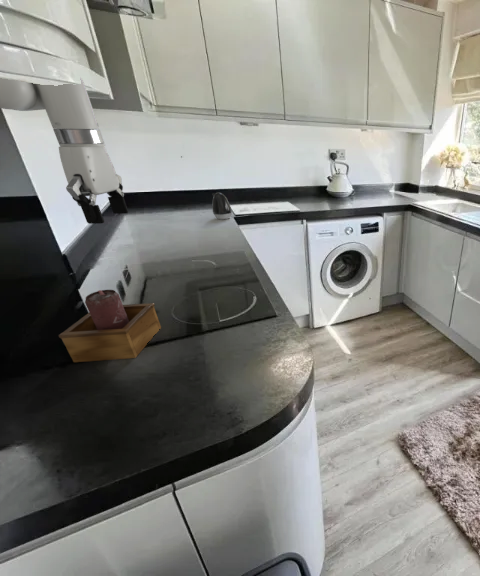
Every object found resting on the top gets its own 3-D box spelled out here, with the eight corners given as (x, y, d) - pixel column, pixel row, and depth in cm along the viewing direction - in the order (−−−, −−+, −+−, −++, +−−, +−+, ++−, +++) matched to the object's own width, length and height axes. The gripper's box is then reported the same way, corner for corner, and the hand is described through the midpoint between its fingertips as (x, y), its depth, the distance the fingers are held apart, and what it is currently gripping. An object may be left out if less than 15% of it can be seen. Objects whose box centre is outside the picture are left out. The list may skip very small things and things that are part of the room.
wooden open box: (72, 362, 74) (58, 335, 71) (107, 331, 86) (97, 306, 82) (136, 358, 76) (125, 331, 72) (162, 327, 87) (154, 303, 84)
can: (130, 333, 85) (111, 285, 78) (140, 342, 81) (121, 293, 75) (101, 344, 80) (79, 295, 74) (111, 354, 77) (88, 303, 71)
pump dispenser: (224, 215, 200) (218, 190, 193) (236, 217, 196) (232, 191, 189) (210, 219, 191) (204, 193, 184) (223, 221, 188) (217, 194, 181)
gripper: (87, 137, 76) (113, 210, 84) (27, 139, 61) (65, 228, 69) (122, 138, 77) (145, 209, 85) (71, 140, 62) (104, 227, 70)
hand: (109, 217), depth 77 cm, fingers open, 9 cm apart
